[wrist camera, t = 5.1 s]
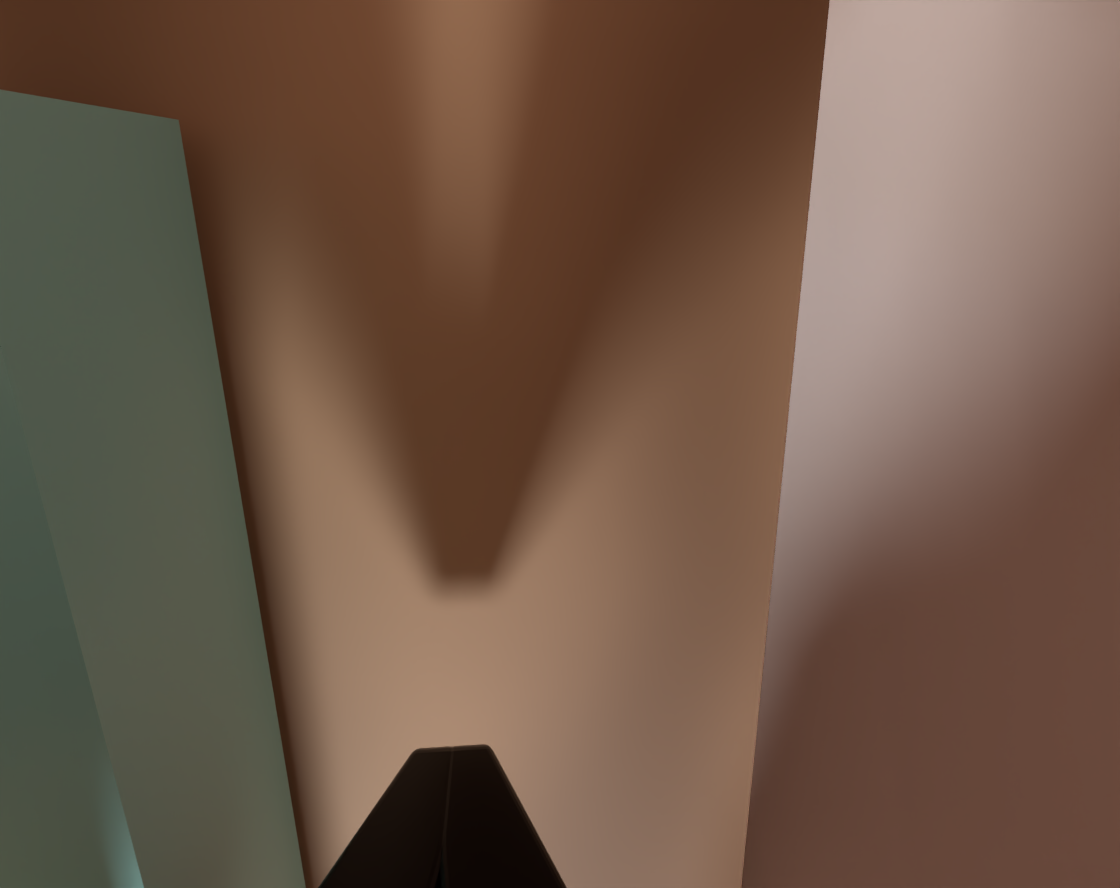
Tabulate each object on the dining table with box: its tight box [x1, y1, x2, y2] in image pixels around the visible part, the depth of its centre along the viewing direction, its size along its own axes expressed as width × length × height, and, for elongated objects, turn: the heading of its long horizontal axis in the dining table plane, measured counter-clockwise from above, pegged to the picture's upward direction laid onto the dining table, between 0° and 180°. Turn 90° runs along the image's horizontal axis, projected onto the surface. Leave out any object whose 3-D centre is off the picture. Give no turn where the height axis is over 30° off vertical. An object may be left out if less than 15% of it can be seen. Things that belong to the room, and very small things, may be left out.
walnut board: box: [0, 0, 829, 888], centre depth 9 cm, size 14×14×2 cm
